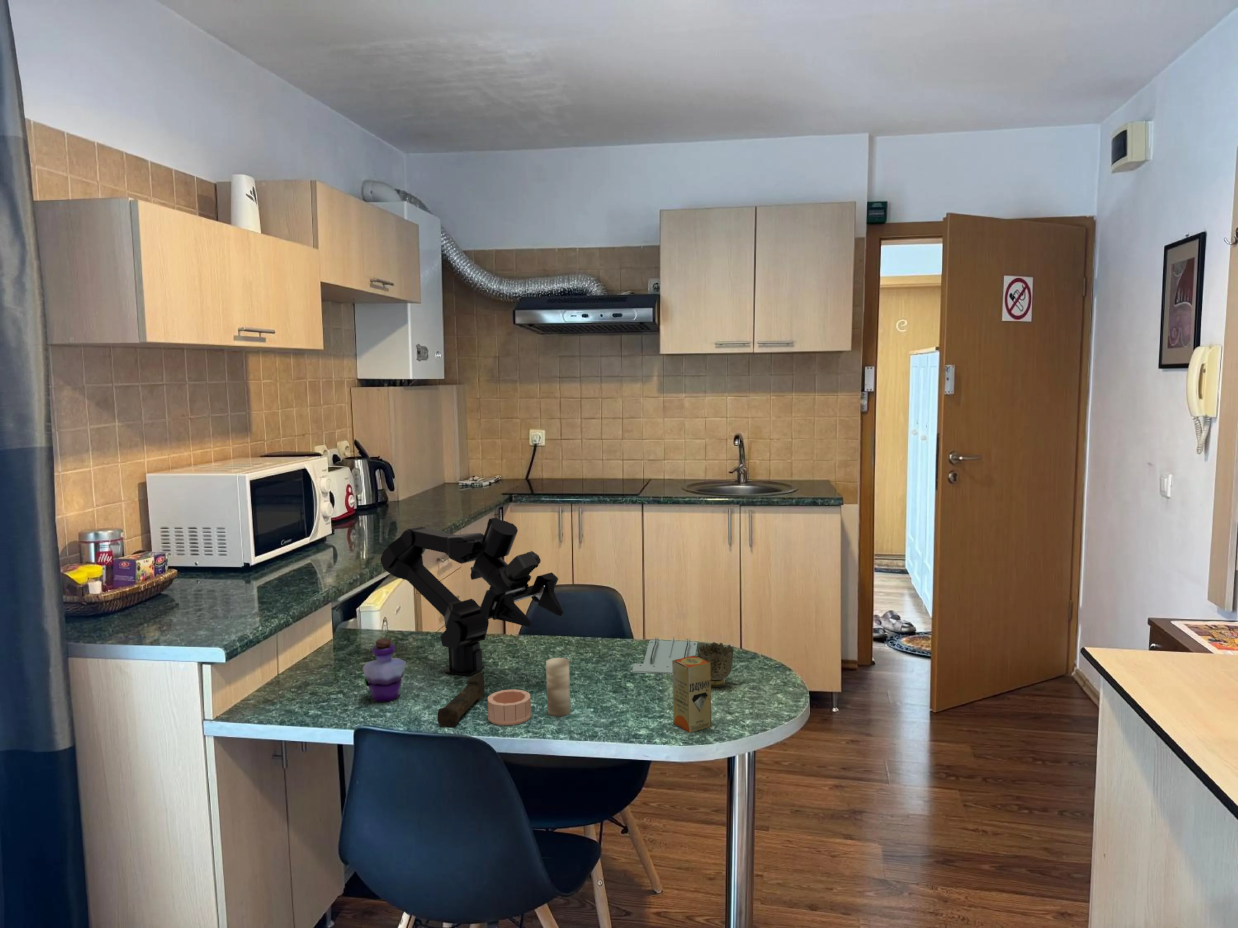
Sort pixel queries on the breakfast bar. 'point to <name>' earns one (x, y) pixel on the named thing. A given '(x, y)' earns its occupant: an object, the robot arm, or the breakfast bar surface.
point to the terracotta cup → (509, 707)
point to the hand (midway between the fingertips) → (546, 619)
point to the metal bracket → (664, 655)
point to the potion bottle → (384, 672)
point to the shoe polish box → (691, 693)
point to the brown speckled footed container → (717, 661)
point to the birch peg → (558, 686)
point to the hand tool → (462, 701)
